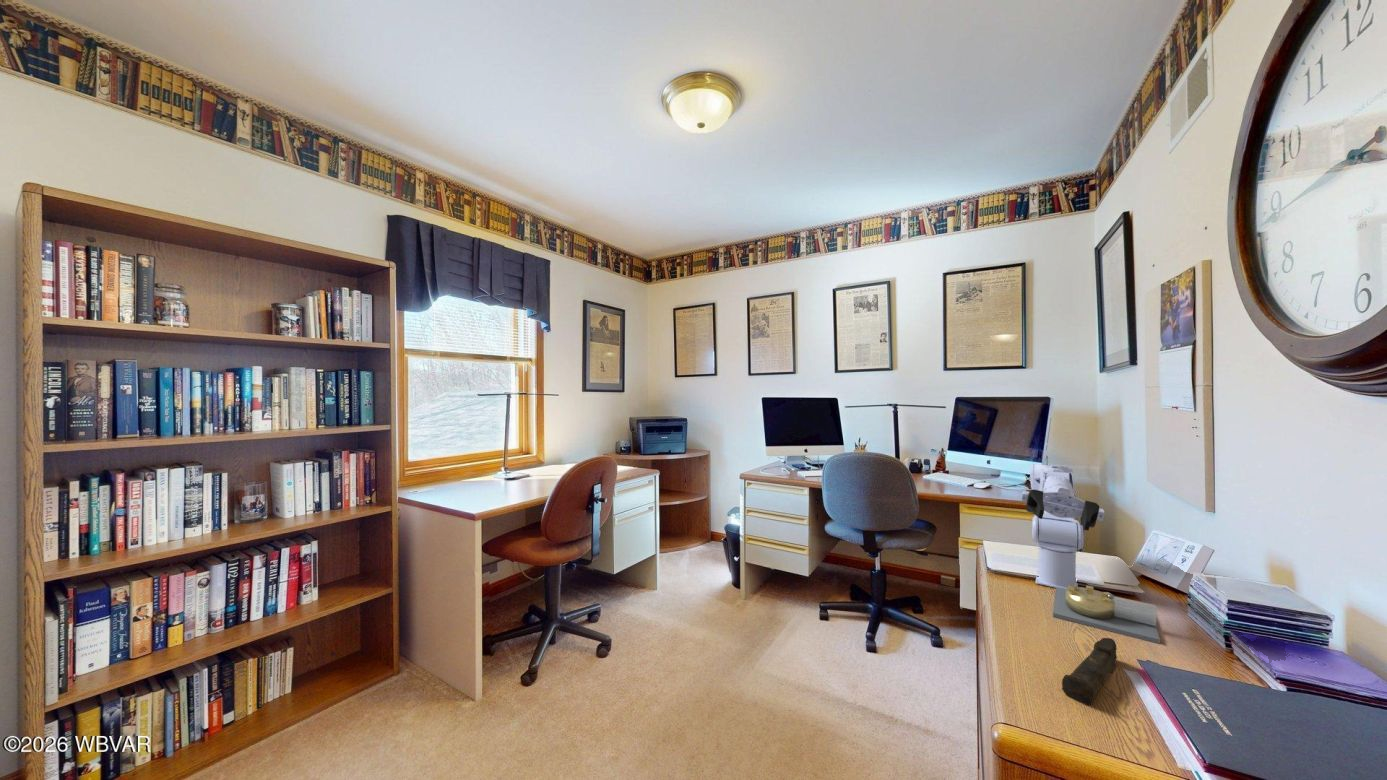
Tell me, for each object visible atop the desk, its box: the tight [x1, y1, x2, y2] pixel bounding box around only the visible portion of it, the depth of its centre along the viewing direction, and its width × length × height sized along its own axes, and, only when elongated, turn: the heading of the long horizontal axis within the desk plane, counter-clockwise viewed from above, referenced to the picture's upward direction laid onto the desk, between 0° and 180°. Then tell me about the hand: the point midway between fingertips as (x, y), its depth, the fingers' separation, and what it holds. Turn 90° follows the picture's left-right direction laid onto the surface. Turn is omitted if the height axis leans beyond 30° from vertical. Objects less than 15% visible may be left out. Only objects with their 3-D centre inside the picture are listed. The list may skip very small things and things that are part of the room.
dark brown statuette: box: [1061, 637, 1118, 706], centre depth 77 cm, size 19×4×5 cm, turn 123°
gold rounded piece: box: [1066, 584, 1157, 627], centre depth 96 cm, size 14×8×4 cm, turn 50°
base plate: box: [1052, 587, 1161, 644], centre depth 99 cm, size 16×16×1 cm
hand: (1063, 520), depth 97 cm, fingers open, 7 cm apart
